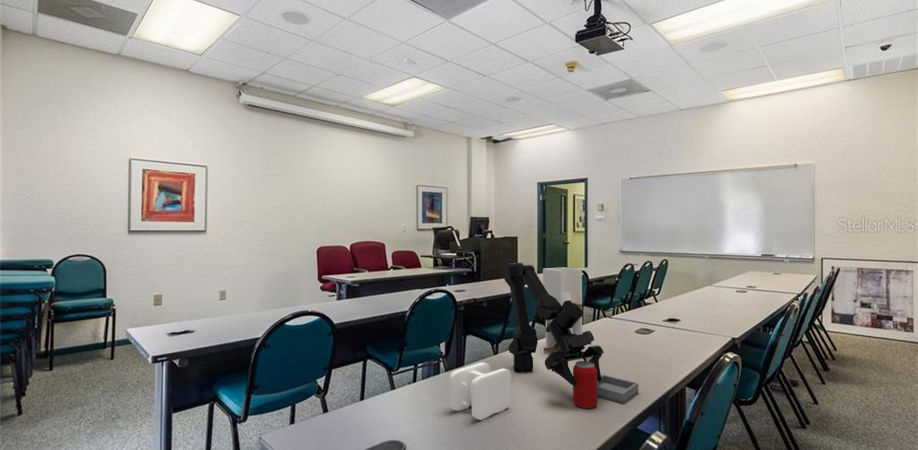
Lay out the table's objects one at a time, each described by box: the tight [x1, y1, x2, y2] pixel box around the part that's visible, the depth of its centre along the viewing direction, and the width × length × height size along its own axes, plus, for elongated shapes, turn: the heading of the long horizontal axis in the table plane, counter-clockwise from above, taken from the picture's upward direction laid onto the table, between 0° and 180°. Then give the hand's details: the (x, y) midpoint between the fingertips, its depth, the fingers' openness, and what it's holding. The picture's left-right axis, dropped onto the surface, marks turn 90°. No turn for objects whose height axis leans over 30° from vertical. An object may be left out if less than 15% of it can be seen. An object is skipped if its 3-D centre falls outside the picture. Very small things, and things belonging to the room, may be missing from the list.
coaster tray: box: [597, 374, 639, 405], centre depth 130 cm, size 12×12×3 cm
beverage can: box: [572, 360, 598, 409], centre depth 122 cm, size 7×7×12 cm
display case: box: [542, 267, 583, 356], centre depth 170 cm, size 11×11×35 cm
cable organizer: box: [448, 361, 511, 421], centre depth 119 cm, size 15×11×12 cm
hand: (588, 383), depth 121 cm, fingers open, 9 cm apart
